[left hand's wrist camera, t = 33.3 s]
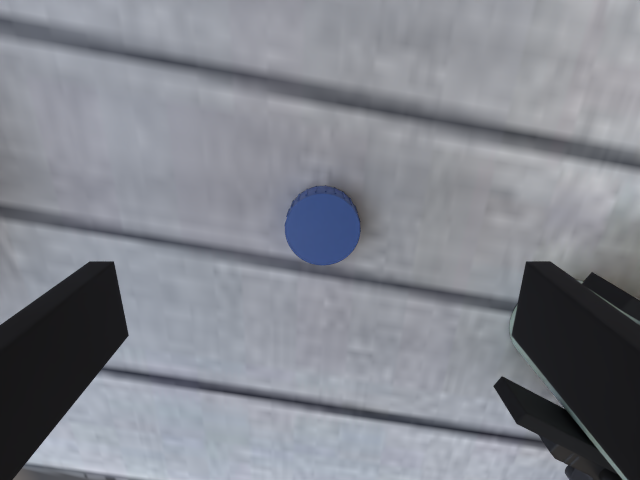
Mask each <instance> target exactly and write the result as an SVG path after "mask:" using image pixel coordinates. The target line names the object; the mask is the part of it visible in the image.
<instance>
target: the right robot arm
mask: <svg viewBox="0 0 640 480" xmlns="http://www.w3.org/2000/svg"><path fill="white" fill-rule="evenodd" d="M582 284H583V285H584V286H585V287H587V288H588V289H590V290H591V291H593V292H594V293H596V294H597V295H599V296H600V297H602V298H603V299H605V300H606V301H608V302H609V303H611V304H612V305H614V306H615V307H617V308H618V309H620V310H621V311H623V312H624V313H626V314H628V315H630V316H631V317H633V318H635V319H636V320H638V321H640V301H639V300H638V299H636V298H634V297H633V296H631V295H629V294H628V293H626V292H624V291H623V290H621V289H619V288H618V287H616V286H614V285H613V284H611V283H609V282H608V281H606V280H604V279H603V278H601V277H599V276H598V275H596V274H594V273H593V272H592V273H591V274H590V275H589V276H588V277H587V278H586V280H585V281H584V282H583V283H582ZM494 388H495V389H496V391H497V393H498V394H499V396H500V397H501V399H502V401H503V402H504V404H505V406H506V407H507V409H508V410H509V412H510V414H511V415H512V417H513V418H514V420H515V422H516V423H517V424H518V425H520V426H522V427H524V428H526V429H528V430H530V431H532V432H534V433H536V434H538V435H539V436H540V438H541V439H542V441H543V442H544V444H545V445H546V447H547V448H548V450H549V451H550V453H551V454H552V455H553V456H554V458H555V459H557V460H559V461H561V462H564V463H565V464H567V465H568V466H567V467H566V469H565V474H566V475H567V477H568V478H569V480H623V479H622V478H621V477H620V476H619V474H618V473H617V472H616V471H615V470H614V468H613V467H612V466H611V465H610V463H609V462H608V461H607V460H606V458H605V457H604V456H603V455H602V454H601V452H600V451H599V450H598V449H597V447H596V446H595V445H594V444H593V442H592V441H591V440H590V439H589V438H588V436H587V435H586V434H585V433H584V431H583V430H582V429H581V428H580V426H579V425H578V424H577V423H576V422H575V420H574V419H573V418H572V417H571V415H570V414H569V413H568V412H567V410H565V409H564V408H562V407H560V406H558V405H556V404H554V403H552V402H550V401H548V400H546V399H544V398H543V397H541V396H539V395H537V394H535V393H533V392H531V391H529V390H527V389H525V388H523V387H521V386H520V385H518V384H516V383H514V382H512V381H510V380H508V379H506V378H504V377H501V378H500V379H499V380H498V382H497V383H496V384H495V385H494Z"/></svg>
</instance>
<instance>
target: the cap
mask: <svg viewBox="0 0 640 480" xmlns="http://www.w3.org/2000/svg"><path fill="white" fill-rule="evenodd" d="M357 213H358V212H357V209H356V206H355V205H353V203H352V201H351V198H349V197H348V196H347V195H346V194H344V192H341V191H340V190H338V189H336V188H335V187H334V188H332V187H328V186H326V185H325V186H318V187H317V186H315V187H313V188H310V189H306V191H304V192H303V193H301V194H299V195H298V197H297V198H296V199H295V200H293V202H292V205H291V208H290V209H289V210H288V213H287V216H286V217H287V220H286V223H285V234H286V239H287V242H288V244H289V246H290V248H291V249H292V251H293V252H294V253H295V254H296V255H297V256H298V257H299V258H301V259H302V260H304V261H306V262H308V263H311V264H315V265H330V264H334V263H337V262H339V261H341V260H343V259H345V258H346V257H347V256H348V255H349V254H350V253H351V252H352V251H353V250H354V248H355V247H356V245H357V243H358V240H359V237H360V219H359V216H358V214H357Z"/></svg>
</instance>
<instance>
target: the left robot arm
mask: <svg viewBox="0 0 640 480" xmlns="http://www.w3.org/2000/svg"><path fill="white" fill-rule="evenodd" d="M128 336H129V335H128V330H127V325H126V320H125V315H124V310H123V305H122V300H121V295H120V290H119V285H118V280H117V275H116V270H115V265H114V262H88V263H87V264H86V265H84V266H83V267H81V268H80V269H79V270H77V271H76V272H74V273H73V274H72V275H70V276H69V277H67V278H66V279H65V280H63V281H62V282H60V283H59V284H57V285H56V286H55V287H53V288H52V289H50V290H49V291H48V292H46V293H45V294H43V295H42V296H41V297H39V298H38V299H36V300H35V301H34V302H32V303H31V304H29V305H28V306H27V307H25V308H24V309H22V310H21V311H19V312H18V313H17V314H15V315H14V316H12V317H11V318H10V319H8V320H7V321H5V322H4V323H3V324H1V325H0V480H13V478H14V477H15V476H16V475H17V473H18V472H19V471H20V470H21V468H22V467H23V466H24V465H25V463H26V462H27V461H28V460H29V459H30V457H31V456H32V455H33V454H34V452H35V451H36V450H37V449H38V447H39V446H40V445H41V444H42V442H43V441H44V440H45V439H46V437H47V436H48V435H49V434H50V432H51V431H52V430H53V429H54V427H55V426H56V425H57V424H58V423H59V421H60V420H61V419H62V418H63V416H64V415H65V414H66V413H67V411H68V410H69V409H70V408H71V406H72V405H73V404H74V403H75V401H76V400H77V399H78V398H79V396H80V395H81V394H82V393H83V391H84V390H85V389H86V388H87V387H88V385H89V384H90V383H91V382H92V380H93V379H94V378H95V377H96V375H97V374H98V373H99V372H100V370H101V369H102V368H103V367H104V365H105V364H106V363H107V362H108V360H109V359H110V358H111V357H112V355H113V354H114V353H115V352H116V350H117V349H118V348H119V347H120V346H121V344H122V343H123V342H124V341H125V339H126V338H127V337H128ZM511 336H512V337H513V338H514V339H515V341H516V342H517V343H518V344H519V346H520V347H521V348H522V349H523V350H524V352H525V353H526V354H527V355H528V357H529V358H530V359H531V360H532V362H533V363H534V364H535V365H536V367H537V368H538V369H539V370H540V372H541V373H542V374H543V375H544V377H545V378H546V379H547V380H548V382H549V383H550V384H551V385H552V387H553V388H554V389H555V390H556V391H557V393H558V394H559V395H560V396H561V398H562V399H563V400H564V401H565V403H566V404H567V405H568V406H569V408H570V409H571V410H572V411H573V413H574V414H575V415H576V416H577V418H578V419H579V420H580V421H581V423H582V424H583V425H584V426H585V427H586V429H587V430H588V431H589V432H590V434H591V435H592V436H593V437H594V439H595V440H596V441H597V442H598V444H599V445H600V446H601V447H602V449H603V450H604V451H605V452H606V454H607V455H608V456H609V457H610V459H611V460H612V461H613V462H614V463H615V465H616V466H617V467H618V468H619V470H620V471H621V472H622V473H623V475H624V476H625V477H626V478H627V480H640V325H639V324H637V323H636V322H635V321H633V320H632V319H630V318H629V317H628V316H626V315H625V314H623V313H622V312H621V311H619V310H618V309H616V308H615V307H613V306H612V305H611V304H609V303H608V302H606V301H605V300H604V299H602V298H601V297H599V296H598V295H597V294H595V293H594V292H592V291H591V290H590V289H588V288H587V287H585V286H584V285H583V284H581V283H580V282H578V281H577V280H575V279H574V278H573V277H571V276H570V275H568V274H567V273H566V272H564V271H563V270H561V269H560V268H559V267H557V266H556V265H554V264H553V263H552V262H526V265H525V270H524V275H523V280H522V285H521V290H520V295H519V300H518V305H517V310H516V315H515V320H514V325H513V330H512V335H511Z"/></svg>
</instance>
